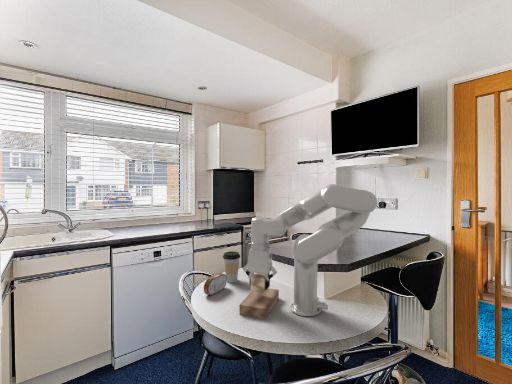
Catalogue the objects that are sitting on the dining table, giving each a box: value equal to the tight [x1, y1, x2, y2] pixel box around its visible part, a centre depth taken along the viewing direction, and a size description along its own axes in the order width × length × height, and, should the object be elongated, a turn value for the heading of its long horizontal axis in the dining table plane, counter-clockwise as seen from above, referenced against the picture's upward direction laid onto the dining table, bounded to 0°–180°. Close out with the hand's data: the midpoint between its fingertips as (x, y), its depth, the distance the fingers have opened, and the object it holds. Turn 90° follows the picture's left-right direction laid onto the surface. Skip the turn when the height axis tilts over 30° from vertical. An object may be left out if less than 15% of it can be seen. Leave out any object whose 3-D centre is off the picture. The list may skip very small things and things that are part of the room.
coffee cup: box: [222, 250, 241, 284], centre depth 152 cm, size 9×9×15 cm
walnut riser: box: [238, 287, 280, 320], centre depth 123 cm, size 11×20×4 cm, turn 160°
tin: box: [203, 272, 228, 296], centre depth 137 cm, size 15×3×8 cm, turn 149°
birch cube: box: [249, 273, 266, 293], centre depth 122 cm, size 6×6×6 cm
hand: (259, 287), depth 122 cm, fingers closed on birch cube, 6 cm apart
